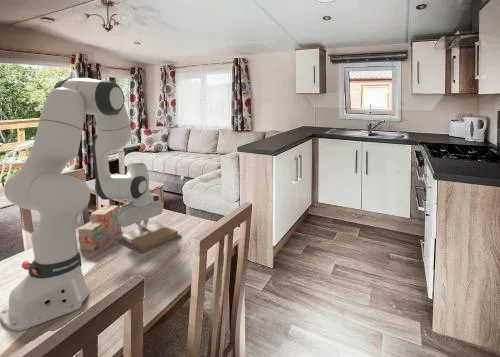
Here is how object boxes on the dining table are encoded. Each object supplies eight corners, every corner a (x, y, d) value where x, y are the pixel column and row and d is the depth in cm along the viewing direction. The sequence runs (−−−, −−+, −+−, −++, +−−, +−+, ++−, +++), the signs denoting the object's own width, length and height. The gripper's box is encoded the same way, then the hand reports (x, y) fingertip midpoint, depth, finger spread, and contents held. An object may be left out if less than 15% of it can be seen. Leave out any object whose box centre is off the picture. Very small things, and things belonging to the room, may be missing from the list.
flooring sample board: (141, 253, 128) (141, 246, 128) (118, 242, 138) (117, 235, 138) (181, 237, 144) (180, 230, 143) (157, 228, 154) (156, 222, 153)
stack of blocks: (94, 251, 131) (91, 222, 128) (80, 250, 131) (76, 221, 129) (121, 230, 151) (119, 205, 148) (108, 229, 152) (106, 204, 149)
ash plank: (131, 244, 134) (131, 240, 133) (121, 238, 138) (121, 234, 137) (167, 230, 148) (167, 226, 147) (157, 225, 152) (157, 222, 151)
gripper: (122, 207, 130) (125, 239, 134) (163, 195, 146) (165, 223, 150) (113, 204, 134) (117, 235, 138) (154, 192, 150) (157, 220, 153)
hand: (142, 229), depth 144 cm, fingers closed, pressing on ash plank
